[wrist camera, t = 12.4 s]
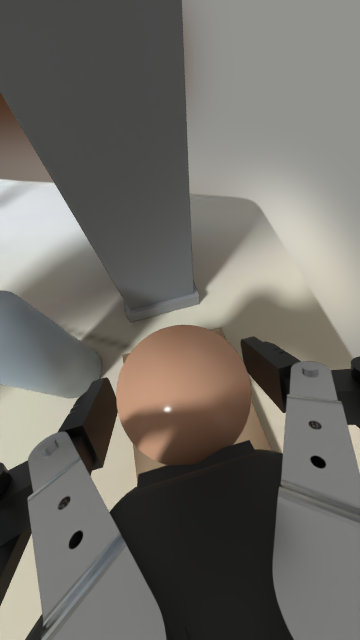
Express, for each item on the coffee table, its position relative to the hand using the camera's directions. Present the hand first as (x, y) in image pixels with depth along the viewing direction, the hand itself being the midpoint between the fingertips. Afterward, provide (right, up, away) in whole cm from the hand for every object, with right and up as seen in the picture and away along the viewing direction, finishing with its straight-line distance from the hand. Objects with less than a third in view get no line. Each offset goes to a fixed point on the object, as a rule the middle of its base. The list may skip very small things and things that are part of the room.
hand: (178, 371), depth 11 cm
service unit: (-3, +10, +14) cm, 17 cm away
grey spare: (-10, -2, +8) cm, 13 cm away
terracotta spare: (+1, -4, +5) cm, 6 cm away
